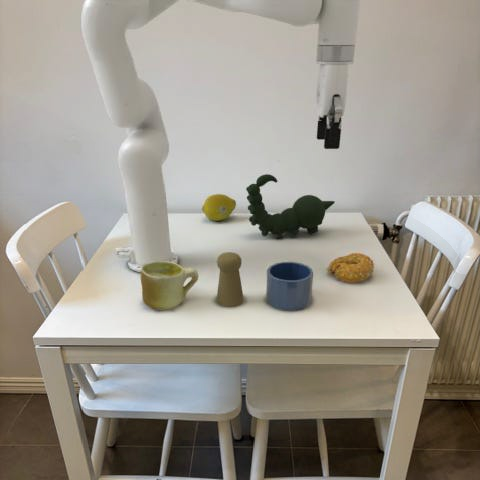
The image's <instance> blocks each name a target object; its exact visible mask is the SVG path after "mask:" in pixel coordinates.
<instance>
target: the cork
mask: <svg viewBox="0 0 480 480" xmlns="http://www.w3.org/2000/svg"><path fill="white" fill-rule="evenodd" d="M216 266H217V268H218V269H219V275H218V283H217V284H218V285H217V293H216V303H217V304H218V305H219V306H222V307H225V308H234V307H238V306H240V305H242V304H243V303H244V292H243V287H242V286H243V285H242V279H241V273H240V269H241V267H242V258H241V256H240V255H239V254H238V253H236V252H232V251H230V252H229V251H228V252H222V253H221V254H219V255H218V257H217V259H216Z"/></svg>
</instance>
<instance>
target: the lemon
mask: <svg viewBox="0 0 480 480" xmlns="http://www.w3.org/2000/svg"><path fill="white" fill-rule="evenodd" d="M236 206H237V201H236V200H235V199H233V198H231V197H229V196H228V195H225V194H221V193H216V194H212V195H209V196H208V197H206V198H205V200H204V202H203V205H202V207H201V211H202V212H203V213H204V215H205V217H206V218H207V219H208V220H209V221H210V220H211V221H214V222H220V221H223V220H226V219H227V218H229V216H231V215H232V213H233V212H234V210H235V209H236Z"/></svg>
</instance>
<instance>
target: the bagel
mask: <svg viewBox="0 0 480 480" xmlns="http://www.w3.org/2000/svg"><path fill="white" fill-rule="evenodd" d="M374 270H375V263H374V260H373V259H371V257H370V256H368V255H367V254H365V253H360V252H354V253H353V252H352V253H350V254H347V255H345V256H339V257H336V258H335V259H333V260H332V261H331V262H330V263H329V265H328V266H327V272H328V273H329V274H330V275H332V276H334V277H336V278H337V280H340V281H342V282H345V283H349V284H350V283H361V282H363V281H365V280H367V279H368V278H369V277H370V276H372V274H373V273H374Z"/></svg>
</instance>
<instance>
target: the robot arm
mask: <svg viewBox="0 0 480 480" xmlns="http://www.w3.org/2000/svg"><path fill="white" fill-rule="evenodd" d="M179 1H180V0H84V2H83V5H82V8H81V9H82V10H81V14H80V16H81V17H80V26H81V33H82V37H83V38H82V39H83V41H84V45H85V48H86V51H87V54H88V57H89V60H90V63H91V66H92V69H93V73H94V76H95V79H96V82H97V85H98V89H99V92H100V95H101V98H102V102H103V104H104V108H105V111H106V115H107V116H108V118H109V120H110V121H111V122H112V123H113V124H114V125H115V126H117V127H119V128H121V129H124V130H125V133H126V136H127V137H126V138H125V139H124V140H123V142H122V143H121V145H120V147H119V150H118V153H117V164H118V169H119V173H120V178H121V180H122V186H123V190H124V197H125V203H126V210H127V217H128V225H129V233H130V239H131V240H130V241H131V245H129V246H128V247H121V246H119V247H116V248H115V254H116V255H117V256H118V257H119V259H125V258H126V259H127V264H128V267H129V269H131V270H132V271H134V272H137V273H141V268H142V266H143V265H144V264H146V263H151V262H153V261H168V262H173V263H176V264H178V263H179V257H178V255H177V254H176V253H175V252H173V251H172V246H171V236H170V225H169V214H168V203H167V202H168V201H167V193H166V185H165V181H164V180H165V179H164V175H163V165H164V163H165V162H166V160H167V159H168V156H169V152H170V143H169V140H168V139H169V138H168V134H167V131H166V127H165V124H164V123H165V122H164V120H163V116H162V113H161V110H160V109H161V108H160V106H159V102H158V98H157V96H156V94H155V92H154V90H153V89H152V87H151V86H150V85H149V84H148V82H146V81H145V80H143V79H141V78H140V77H139V76H138V73H137V69H136V66H135V62H134V58H133V55H132V52H131V50H130V47H129V44H128V42H127V37H126V33H127V32H126V31H127V30H137V29H140V28H142V27H144V26H147V24H149V23H151V22H152V21H153V20H154V19H155V18H157V17H158V16H160V15H161V14H162V13H164V12H165V11H167V10H168V9H169V8H171V7H172V6H174V5H175V4H176V3H177V2H179ZM188 1H190V2H194V3H196V4H201V5H203V6H204V5H205V6H209V7H212V8H216V9H219V10H222V11H227V12H231V13H245V14H249V15H254V16H258V17H263V18H266V19H269V20H270V19H271V20H274V21H277V22H281V23H284V24H288V25H291V26H292V27H305V26H309V25H310V26H311V25H318V31H317V45H316V59H315V64H316V65H319V68H318V74H317V81H316V88H315V89H316V90H315V99H314V100H315V101H314V113H315V114H317V115H318V120H317V126H316V139H317V140H319V141H320V140H323V149H325V150H339V149H340V146H341V145H340V143H341V135H342V119H343V118H342V117H343V116H344V115H345V110H346V103H347V102H346V101H347V90H348V77H349V65H353V64H354V60H355V51H356V43H357V42H356V41H357V34H358V33H357V32H358V22H359V15H360V14H359V11H360V4H361V0H188Z"/></svg>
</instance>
